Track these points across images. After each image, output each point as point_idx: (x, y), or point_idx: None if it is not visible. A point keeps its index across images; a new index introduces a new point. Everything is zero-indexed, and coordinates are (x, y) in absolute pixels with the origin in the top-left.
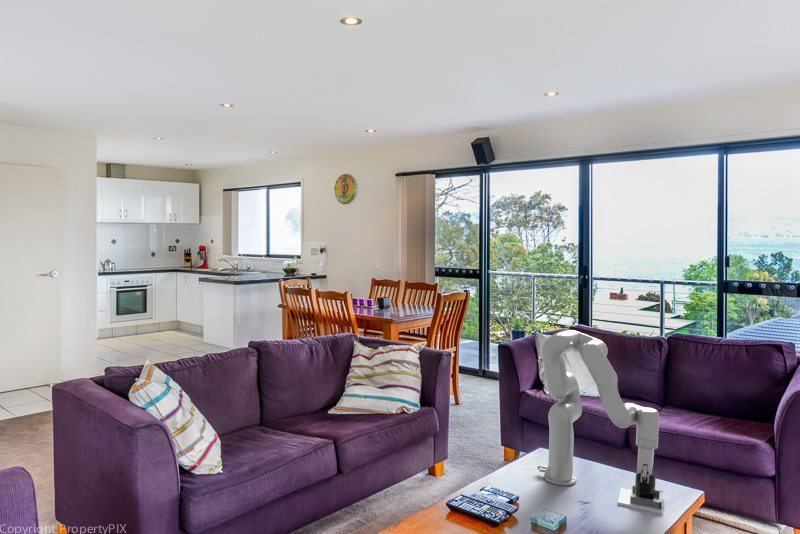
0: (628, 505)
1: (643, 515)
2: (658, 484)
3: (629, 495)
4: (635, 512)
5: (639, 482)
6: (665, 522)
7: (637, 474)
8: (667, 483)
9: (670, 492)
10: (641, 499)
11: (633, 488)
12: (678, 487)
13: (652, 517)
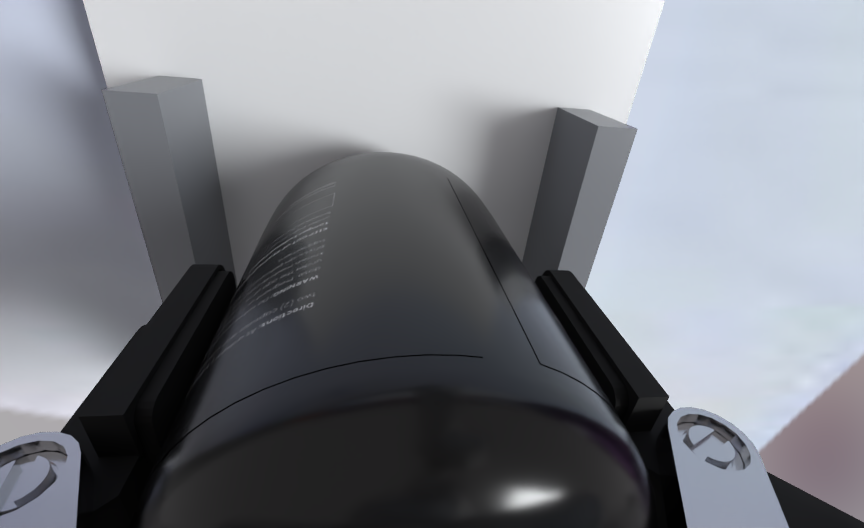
0: (107, 48)
1: (12, 227)
2: (824, 323)
3: (443, 68)
4: (17, 140)
5: (206, 359)
6: (31, 392)
7: (234, 481)
8: (836, 372)
9: (673, 393)
10: (155, 251)
11: (578, 133)
12: (763, 425)
13: (44, 304)
